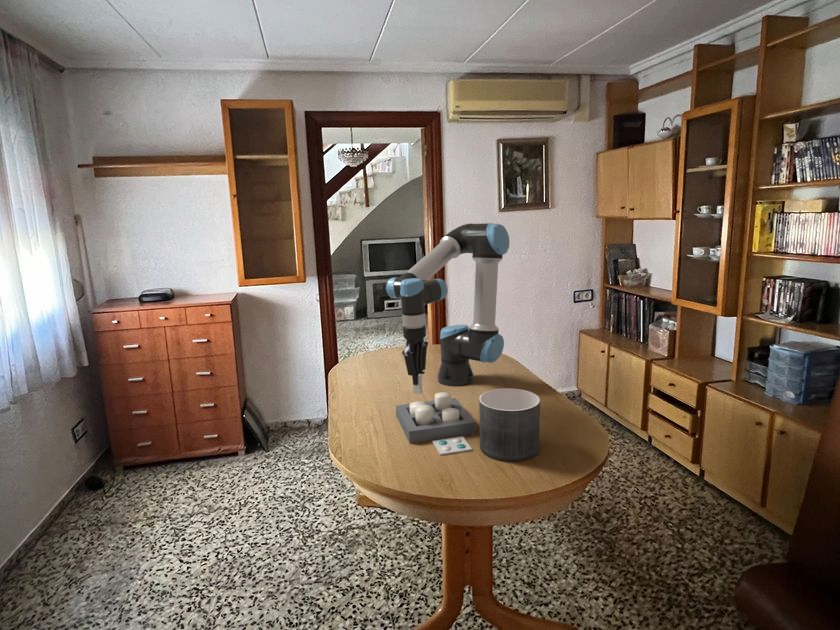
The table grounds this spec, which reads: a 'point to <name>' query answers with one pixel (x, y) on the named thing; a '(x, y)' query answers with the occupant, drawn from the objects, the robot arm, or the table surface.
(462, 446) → the card
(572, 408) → the table surface
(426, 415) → the button
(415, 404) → the button
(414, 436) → the board
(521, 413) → the planter
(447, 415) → the button
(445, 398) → the button
